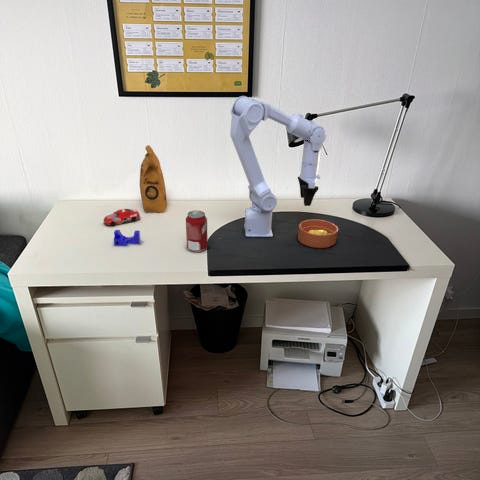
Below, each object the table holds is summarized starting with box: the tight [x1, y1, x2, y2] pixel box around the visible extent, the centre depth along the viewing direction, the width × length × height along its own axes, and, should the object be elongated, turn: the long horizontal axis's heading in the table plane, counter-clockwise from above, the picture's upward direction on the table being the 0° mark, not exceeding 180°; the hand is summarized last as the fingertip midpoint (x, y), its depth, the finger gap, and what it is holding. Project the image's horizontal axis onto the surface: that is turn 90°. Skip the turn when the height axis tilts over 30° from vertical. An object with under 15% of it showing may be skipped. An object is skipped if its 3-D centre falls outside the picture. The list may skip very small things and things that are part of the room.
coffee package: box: [139, 144, 168, 213], centre depth 165 cm, size 10×12×22 cm
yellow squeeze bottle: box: [308, 230, 331, 235], centre depth 150 cm, size 8×3×3 cm, turn 93°
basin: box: [296, 218, 339, 249], centre depth 150 cm, size 13×13×5 cm
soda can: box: [185, 210, 208, 253], centre depth 140 cm, size 7×7×12 cm
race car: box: [103, 208, 141, 227], centre depth 158 cm, size 13×5×4 cm, turn 123°
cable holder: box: [113, 229, 142, 247], centre depth 144 cm, size 8×4×4 cm, turn 90°
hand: (305, 201), depth 156 cm, fingers open, 7 cm apart
